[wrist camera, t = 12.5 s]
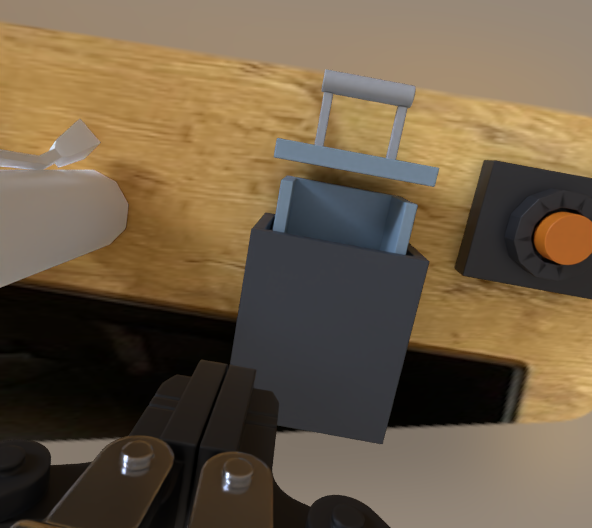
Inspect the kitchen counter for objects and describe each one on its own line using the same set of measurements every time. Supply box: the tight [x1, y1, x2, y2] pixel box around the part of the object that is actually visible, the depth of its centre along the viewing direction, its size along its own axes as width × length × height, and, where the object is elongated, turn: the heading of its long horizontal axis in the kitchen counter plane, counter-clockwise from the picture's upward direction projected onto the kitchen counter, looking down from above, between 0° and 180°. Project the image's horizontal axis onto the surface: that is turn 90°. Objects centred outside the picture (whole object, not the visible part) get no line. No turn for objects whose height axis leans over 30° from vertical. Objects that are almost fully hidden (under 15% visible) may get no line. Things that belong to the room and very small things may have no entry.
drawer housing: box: [230, 213, 429, 444], centre depth 35 cm, size 14×12×9 cm
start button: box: [534, 212, 592, 265], centre depth 33 cm, size 4×4×2 cm
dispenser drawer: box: [273, 69, 439, 255], centre depth 33 cm, size 17×10×7 cm, turn 170°
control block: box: [455, 160, 592, 299], centre depth 35 cm, size 11×9×4 cm
